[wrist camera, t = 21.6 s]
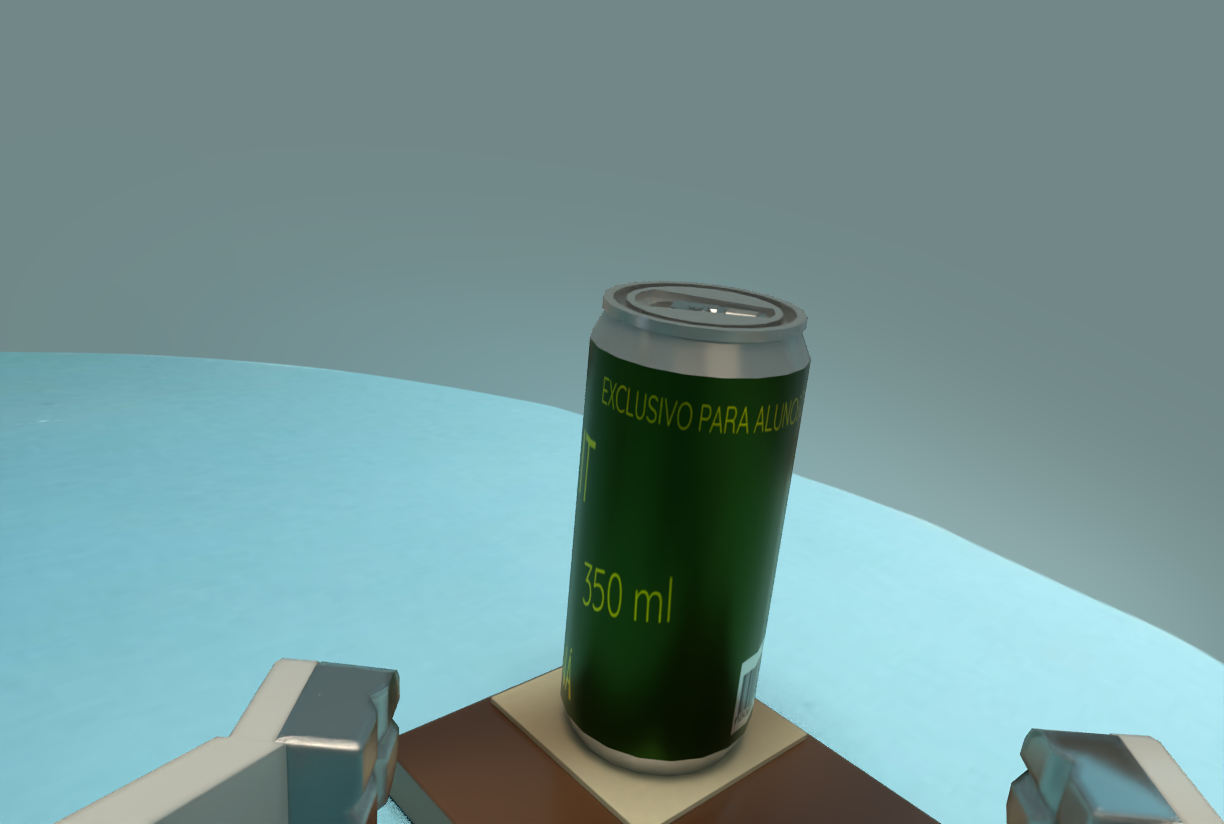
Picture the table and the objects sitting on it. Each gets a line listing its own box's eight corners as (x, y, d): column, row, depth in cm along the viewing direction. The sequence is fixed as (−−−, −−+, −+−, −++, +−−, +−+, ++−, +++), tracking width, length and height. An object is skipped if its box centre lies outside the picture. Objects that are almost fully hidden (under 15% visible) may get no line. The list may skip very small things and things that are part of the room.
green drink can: (755, 681, 29) (818, 296, 25) (739, 804, 24) (816, 347, 20) (583, 647, 30) (618, 270, 26) (534, 759, 25) (568, 312, 21)
